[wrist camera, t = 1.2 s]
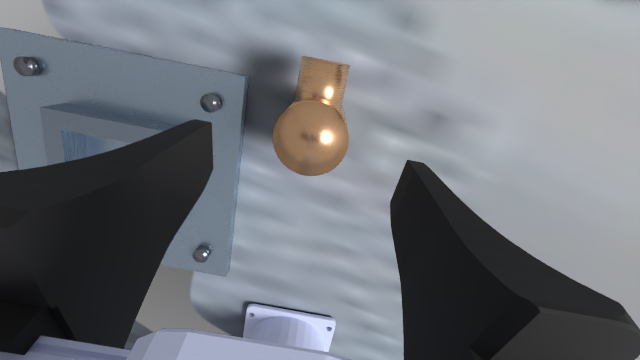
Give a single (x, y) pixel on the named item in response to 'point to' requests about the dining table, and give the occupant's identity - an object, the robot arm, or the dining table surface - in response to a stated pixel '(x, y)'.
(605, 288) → the dining table surface
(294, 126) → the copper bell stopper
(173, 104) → the flange plate
